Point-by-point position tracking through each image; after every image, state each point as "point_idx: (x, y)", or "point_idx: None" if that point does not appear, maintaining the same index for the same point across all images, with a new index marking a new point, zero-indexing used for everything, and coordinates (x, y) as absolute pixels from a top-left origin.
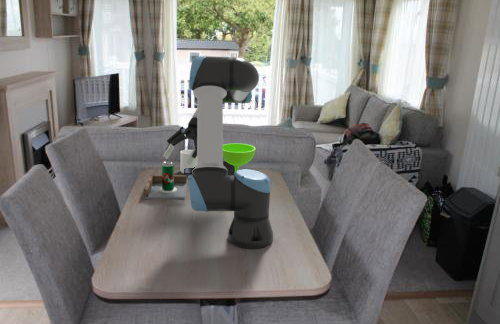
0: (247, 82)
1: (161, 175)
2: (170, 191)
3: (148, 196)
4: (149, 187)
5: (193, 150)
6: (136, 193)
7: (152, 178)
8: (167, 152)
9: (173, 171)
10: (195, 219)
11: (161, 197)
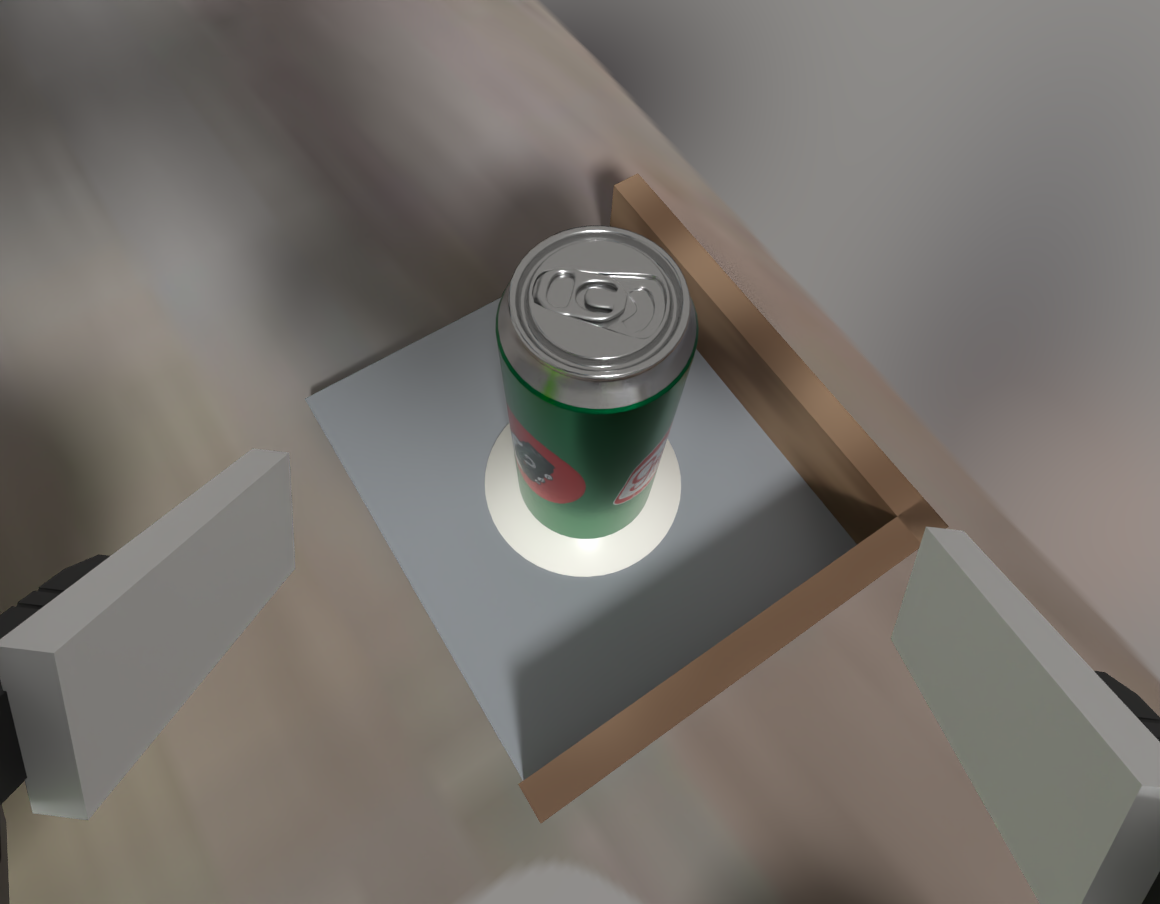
0: None
1: (830, 598)
2: None
3: None
4: None
5: (47, 613)
6: (791, 299)
7: (865, 496)
8: (969, 622)
9: (507, 399)
10: (35, 138)
11: None
